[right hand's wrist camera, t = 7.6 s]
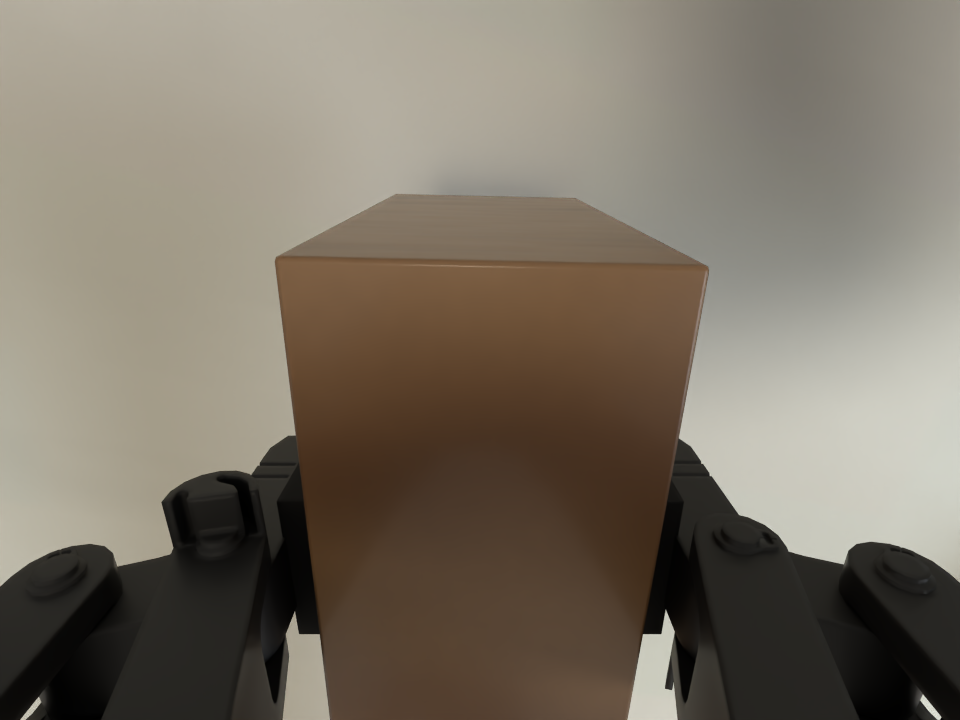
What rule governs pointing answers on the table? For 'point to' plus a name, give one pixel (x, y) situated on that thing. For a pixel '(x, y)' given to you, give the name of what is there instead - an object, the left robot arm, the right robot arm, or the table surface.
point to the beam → (485, 450)
